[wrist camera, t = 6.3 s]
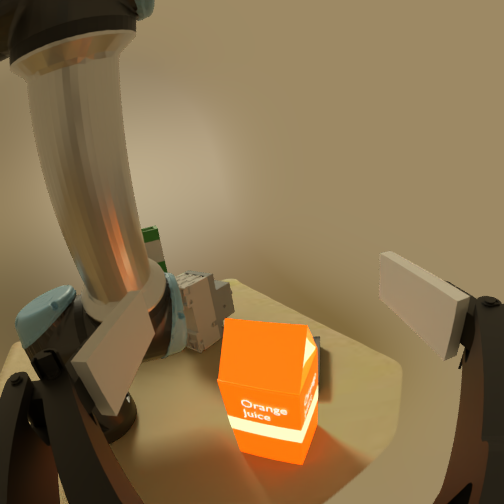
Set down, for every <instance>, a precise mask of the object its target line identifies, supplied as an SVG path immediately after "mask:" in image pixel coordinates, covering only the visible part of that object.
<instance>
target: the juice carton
mask: <svg viewBox="0 0 504 504" xmlns="http://www.w3.org/2000/svg"><path fill="white" fill-rule="evenodd" d="M217 381H218V385H219V388H220V391H221V395H222V398H223V401H224V404H225V407H226V410H227V413H228V418H229V421H230V424H231V427H232V428H233V431H234V434H235V437H236V440H237V443H238V445H239V448H240V451H242V452H245V453H249V454H253V455H257V456H261V457H265V458H269V459H274V460H278V461H283V462H288V463H293V464H299V465H303V462H304V459H305V457H306V454H307V452H308V449H309V446H310V444H311V441H312V438H313V435H314V432H315V429H316V426H317V414H318V353H317V347H316V344H315V342H314V340H313V337H312V335H311V333H310V331H309V328H308V326H307V325H295V324H281V323H269V322H258V321H248V320H238V319H229V318H225V325H224V333H223V341H222V350H221V359H220V367H219V376H218V379H217Z"/></svg>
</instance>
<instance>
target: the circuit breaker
mask: <svg viewBox="0 0 504 504" xmlns="http://www.w3.org/2000/svg"><path fill="white" fill-rule="evenodd" d="M193 275H195V276H193ZM200 276H202V277H200ZM175 278H176V280H177V283H178V286H179V290H180V293H181V297H182V302H183V308H184V315H185V318H186V325H187V344H186V346H185V347H188V348H190V349H192V350H195V351H197V352H199V353H202V351H203V350H206V349H207V348H209V347H210V346H211V345H213V344H214V343H215V342H217V341H218V340H219V339H220V338H222V337H223V333H224V327H222V325H223V320H224V319H225V318H227V317H228V316H230V315H231V314H232V313H234V312H235V311H234V305H233V300H232V295H231V294H232V291H231V289H230V284H229V282H222V281H216V280H214V278H213V274H209V273H202V272H195V271H187V272H185V273H182V274H180V275H178V276H176V277H175Z"/></svg>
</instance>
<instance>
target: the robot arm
mask: <svg viewBox="0 0 504 504" xmlns="http://www.w3.org/2000/svg"><path fill="white" fill-rule="evenodd" d="M153 9H154V0H0V61H2V60H4V59H6V58H8V57H10V71H11V72H13V73H15V74H16V75H18V76H20V77H22V78H23V79H24V80H25V81H26V83H27V89H28V97H29V106H30V113H31V119H32V126H33V132H34V137H35V142H36V147H37V151H38V156H39V160H40V164H41V168H42V172H43V175H44V179H45V182H46V186H47V189H48V193H49V196H50V199H51V202H52V205H53V208H54V211H55V214H56V217H57V220H58V223H59V226H60V228H61V231H62V233H63V236H64V239H65V241H66V243H67V246H68V249H69V251H70V253H71V256H72V258H73V260H74V263H75V265H76V267H77V269H78V271H79V274H80V276H81V278H82V280H83V282H84V285H83V288H82V293H81V295H76V290H74V288H73V287H72V286H70V285H67V286H60V287H57V288H55V289H52V290H50V291H48V292H46V293H44V294H43V295H41V296H39V297H38V298H36V299H34V300H33V301H32V302H30V303H29V304H27V305H26V306H25V307H24V308H23V309H22V310H21V311H20V312H19V314H18V315H17V317H16V321H15V327H16V331H17V333H18V336H19V338H20V341H21V344H22V348H23V349H24V350H25V352H26V354H27V355H28V357H29V359H30V361H31V364H32V366H33V368H34V370H35V371H36V373H37V375H38V377H39V378H40V380H39V381H31V379H30V378H29V376H28V374H27V373H26V372H18V373H14V375H11V377H10V378H9V379H8V380H7V382H6V384H5V386H4V389H3V392H2V395H1V397H0V504H60V497H59V485H58V474H59V477H60V480H61V483H62V486H63V489H64V492H65V495H66V497H67V500H68V503H69V504H144V503H143V501H142V500H141V498H140V497H139V495H138V494H137V492H136V491H135V489H134V488H133V486H132V485H131V483H130V481H129V480H128V478H127V477H126V475H125V473H124V472H123V470H122V468H121V466H120V465H119V463H118V461H117V459H116V457H115V456H114V454H113V452H112V450H111V448H110V446H109V444H108V443H111V442H113V441H115V440H117V439H118V438H120V437H121V436H123V435H124V434H125V433H126V432H127V431H128V430H129V428H130V427H131V426H132V424H133V422H134V420H135V416H136V405H135V402H134V400H133V399H132V397H131V395H130V393H129V392H128V390H129V388H130V385H131V383H132V381H133V379H134V377H135V374H136V372H137V370H138V368H139V366H140V364H141V363H142V362H146V361H151V360H155V359H159V358H161V359H162V358H166V357H168V355H172V354H175V353H178V352H180V351H182V350H183V349H184V348H185V346H186V344H187V325H186V318H185V315H184V308H183V302H182V297H181V293H180V290H179V286H178V283H177V280H176V278H175V276H174V275H173V274H171V273H165V272H164V271H163V270H162V268H161V267H160V265H159V264H158V263H156V262H155V261H153V260H152V259H150V258H148V255H147V252H146V247H145V243H144V239H143V235H142V231H141V227H140V222H139V217H138V212H137V207H136V203H135V197H134V192H133V187H132V181H131V175H130V169H129V163H128V156H127V149H126V142H125V134H124V125H123V116H122V106H121V94H120V77H119V57H120V53H121V52H122V51H123V50H124V49H125V48H126V47H127V46H128V44H129V43H130V42H131V41H132V40H133V39H134V38H135V37H136V20H138V21H139V20H143V19H144V18H147V17H149V16H150V15H151V14H152V12H153ZM379 285H380V286H379V299H381V300H382V301H383V302H384V303H385V304H386V305H387V306H388V307H389V308H390V309H391V310H392V311H393V312H395V313H396V314H397V315H398V316H399V317H400V318H401V319H402V320H403V321H404V322H405V323H406V324H407V325H408V326H409V327H410V328H411V329H412V330H413V331H414V332H416V334H418V336H419V337H420V338H422V339H423V341H424V342H425V343H427V345H428V346H429V347H431V349H432V350H433V351H435V353H436V354H437V355H438V356H439V357H440V358H441V359H442V360H443V361H445V360H447V359H449V358H452V357H454V356H455V355H457V352H458V348H459V344H460V343H461V344H462V345H463V346H464V347H465V349H464V352H463V355H462V359H461V362H460V366H459V368H458V369H461V366H462V383H461V395H460V405H459V412H458V420H457V426H456V432H455V438H454V443H453V447H452V452H451V457H450V461H449V465H448V468H447V472H446V476H445V479H444V483H443V486H442V488H441V491H440V493H439V495H438V496H437V498H436V499H435V501H434V503H433V504H504V304H501V302H500V301H499V300H498V299H496V298H494V297H489V296H482V297H479V298H478V299H476V298H474V297H473V296H471V295H469V294H468V293H466V292H465V291H463V290H461V289H460V288H458V287H455V286H454V285H453V284H451V283H450V282H448V281H444V280H442V279H440V278H439V277H437V276H435V275H433V274H432V273H430V272H428V271H426V270H425V269H423V268H421V267H419V266H417V265H416V264H414V263H412V262H410V261H408V260H407V259H405V258H403V257H401V256H399V255H398V254H396V253H394V252H392V251H389V252H383V253H380V282H379ZM28 420H29V421H28ZM29 422H30V423H31V424H29Z"/></svg>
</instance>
